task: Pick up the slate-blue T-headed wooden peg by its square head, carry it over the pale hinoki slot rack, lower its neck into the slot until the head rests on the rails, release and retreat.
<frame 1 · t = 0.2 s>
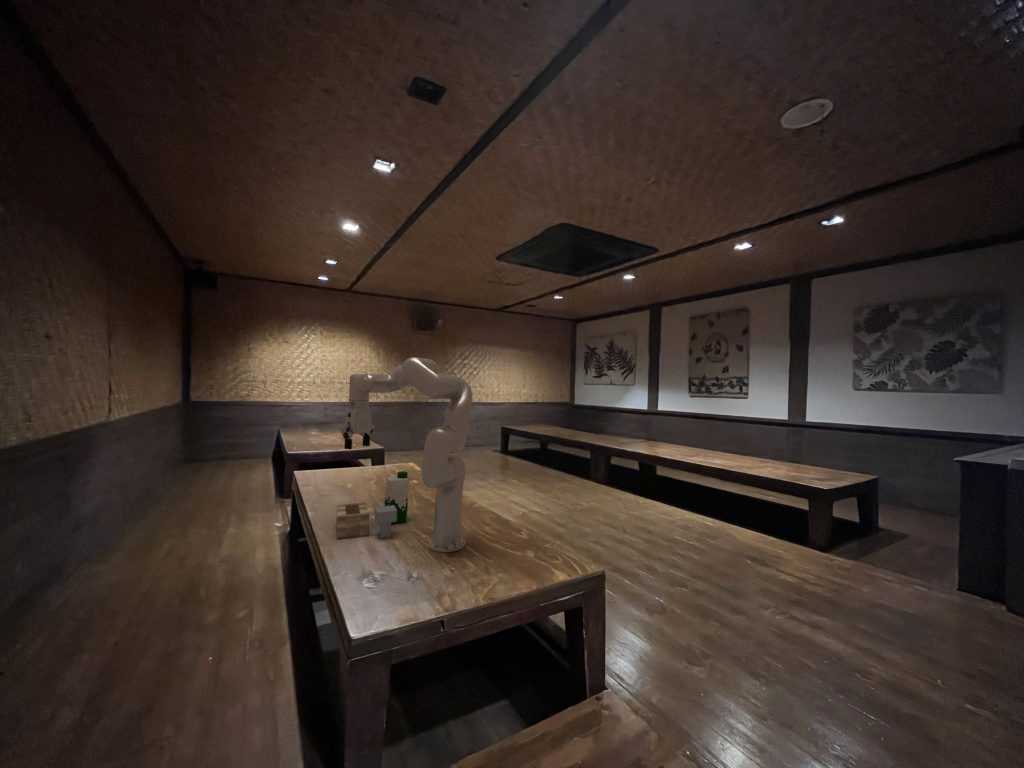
hand: (357, 447, 158), 31 cm above the table, tool pointing down, fingers open, 9 cm apart
t peg: (384, 535, 146), on the table
slot rack: (351, 530, 151), on the table
milk carton: (395, 521, 162), on the table
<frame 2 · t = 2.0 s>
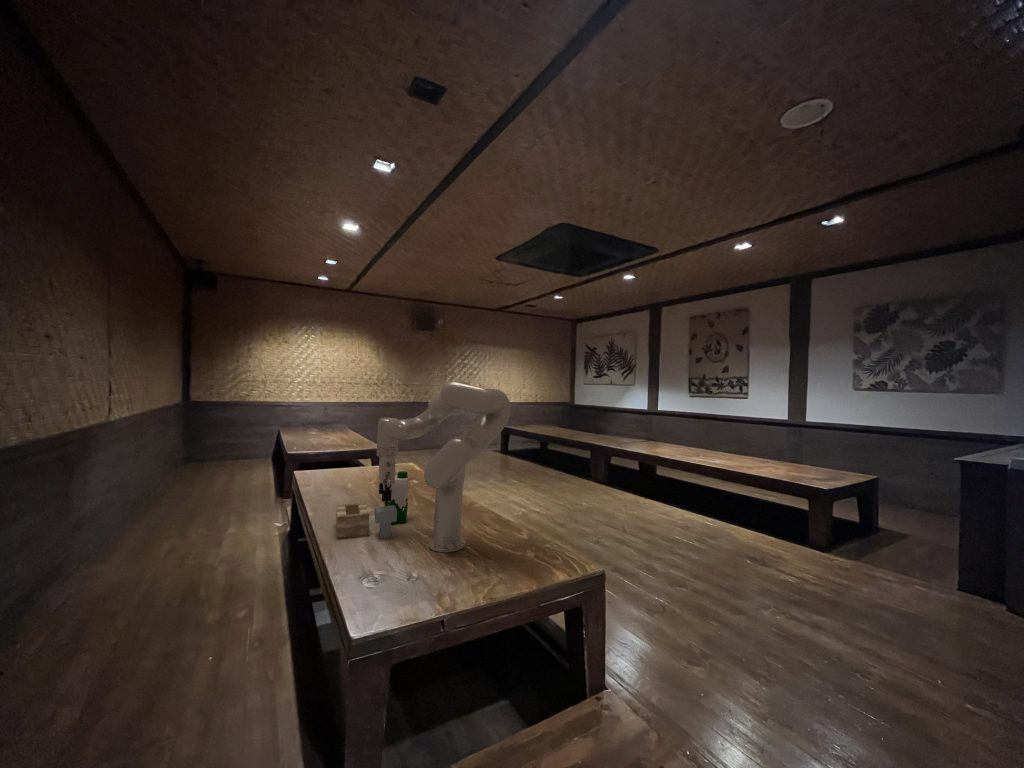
hand: (384, 497, 147), 14 cm above the table, tool pointing down, fingers open, 9 cm apart
nothing on the table moved.
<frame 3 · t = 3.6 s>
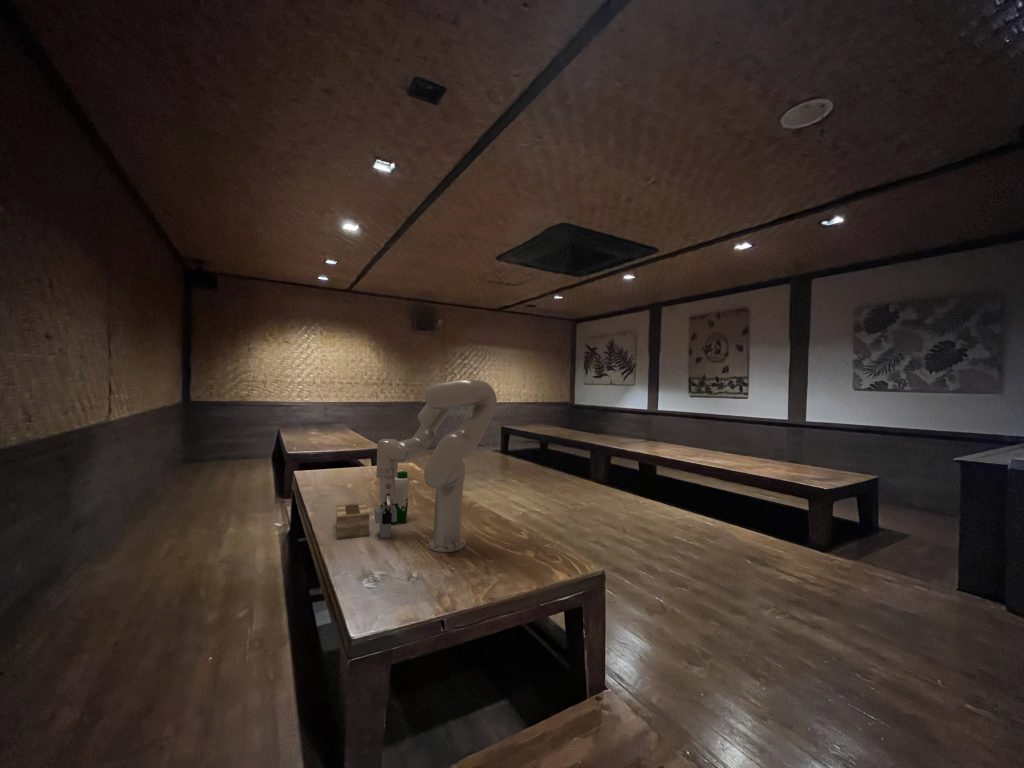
hand: (385, 520, 146), 6 cm above the table, tool pointing down, fingers closed on t peg, 7 cm apart
t peg: (384, 535, 146), on the table, touching gripper
everything else where it was.
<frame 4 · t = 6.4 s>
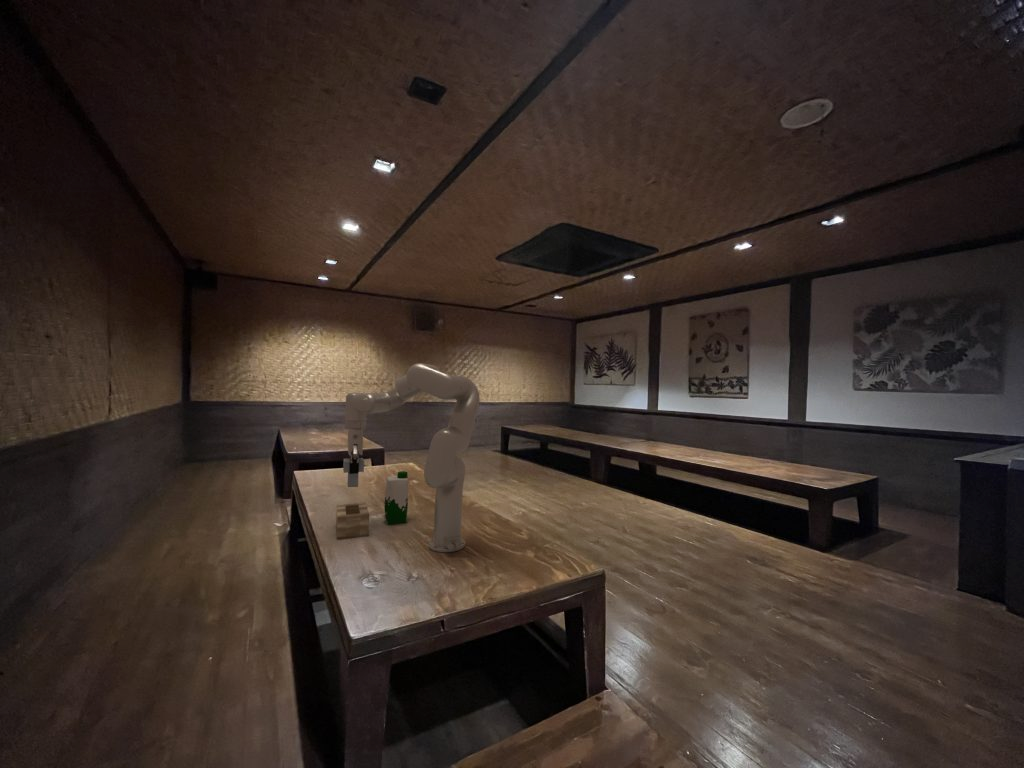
hand: (353, 471, 151), 23 cm above the table, tool pointing down, fingers closed on t peg, 7 cm apart
t peg: (352, 486, 151), point 17 cm above the table, touching gripper
everything else where it was.
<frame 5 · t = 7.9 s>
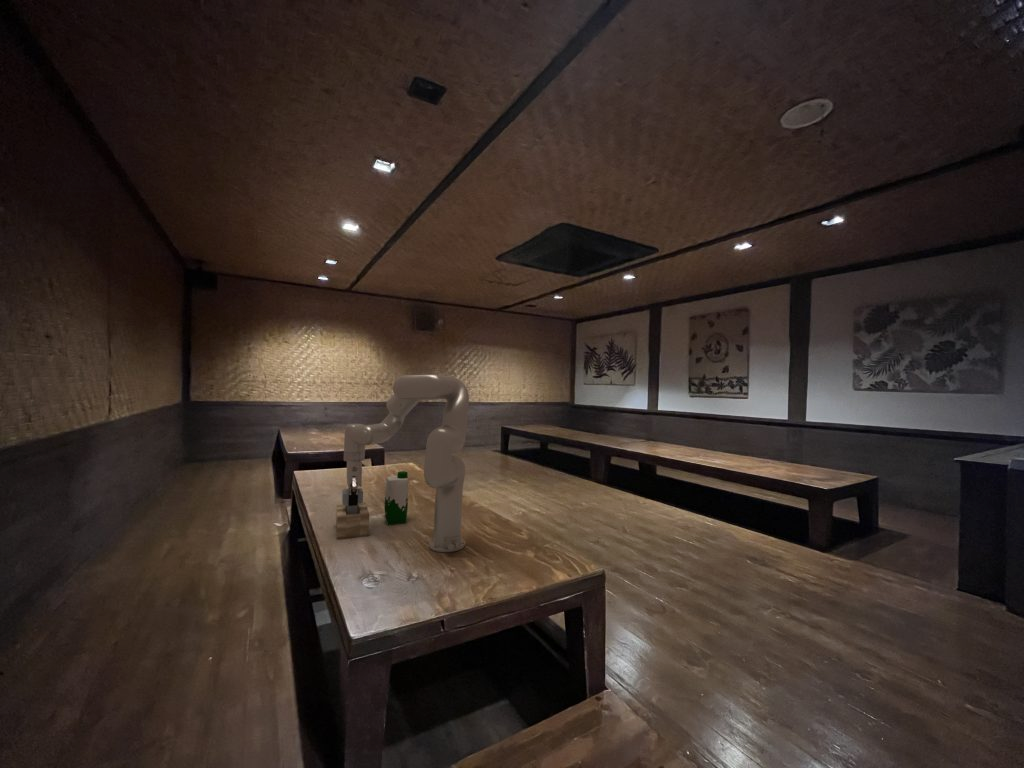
hand: (352, 502, 151), 11 cm above the table, tool pointing down, fingers closed on t peg, 7 cm apart
t peg: (351, 517, 151), point 5 cm above the table, touching gripper
everything else where it was.
when the fingers open (9 cm above the table, at t = 9.1 s): t peg drops 1 cm, resting on slot rack.
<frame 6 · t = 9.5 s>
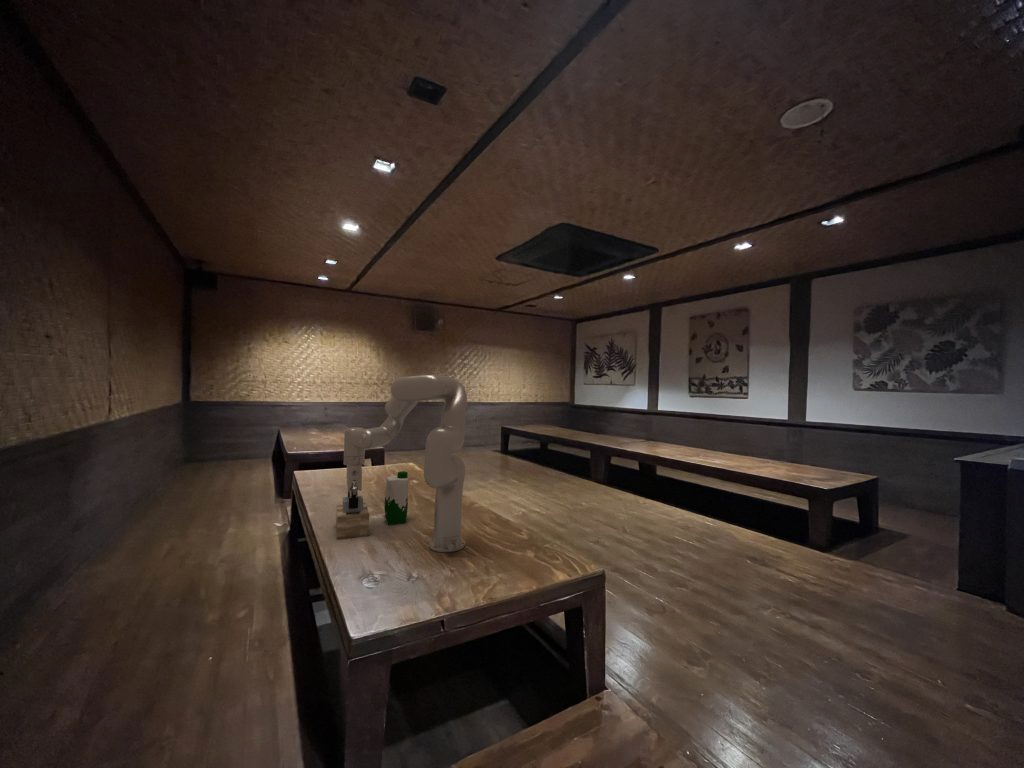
hand: (352, 504, 151), 10 cm above the table, tool pointing down, fingers open, 9 cm apart
t peg: (352, 525, 151), point 2 cm above the table, touching slot rack
everything else where it was.
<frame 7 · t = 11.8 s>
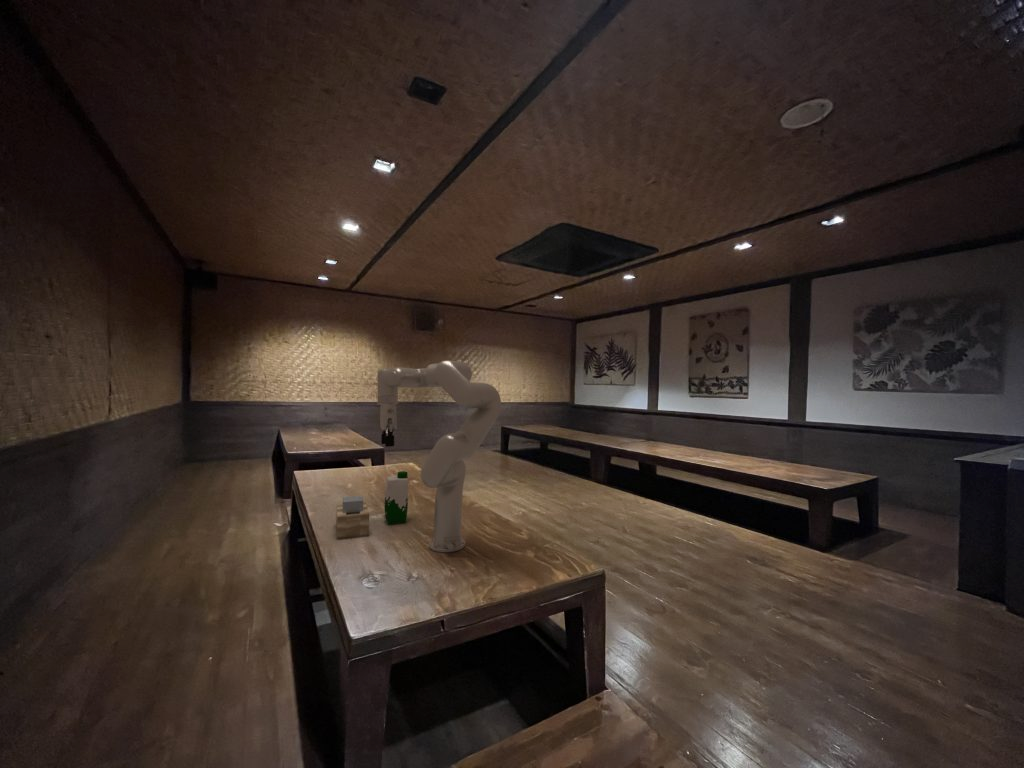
hand: (387, 444, 152), 33 cm above the table, tool pointing down, fingers open, 9 cm apart
nothing on the table moved.
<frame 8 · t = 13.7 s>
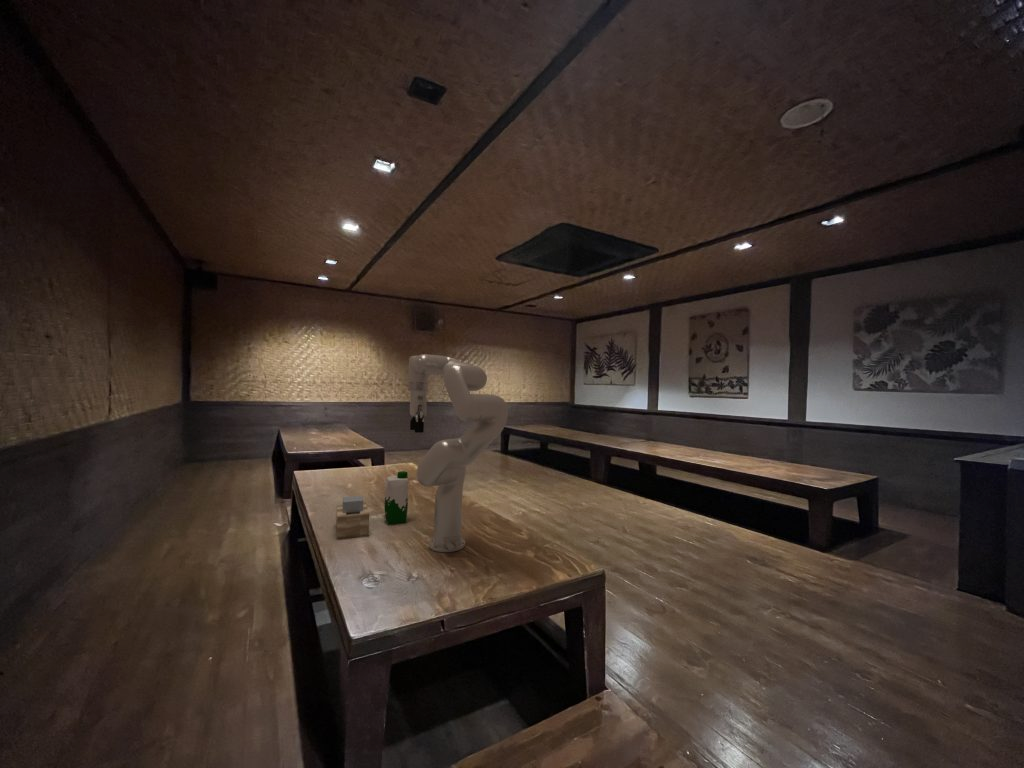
hand: (416, 431, 154), 38 cm above the table, tool pointing down, fingers open, 9 cm apart
nothing on the table moved.
at the end: t peg inside the target area on the slot rack (0.1 cm from its centre), point 2.0 cm above the slot rack's base; t peg tilted 0°; the gripper is holding nothing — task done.
